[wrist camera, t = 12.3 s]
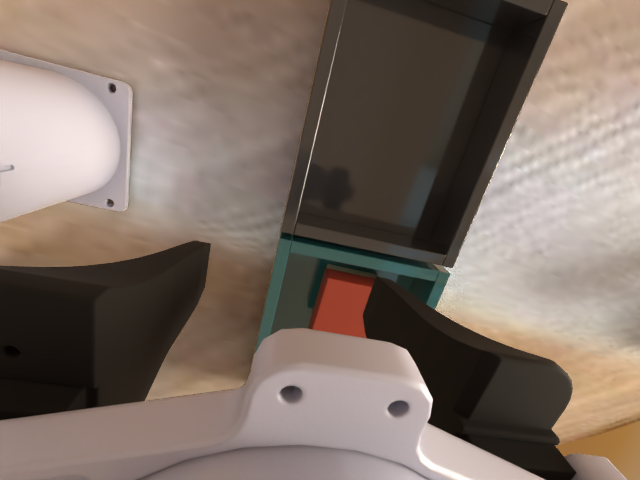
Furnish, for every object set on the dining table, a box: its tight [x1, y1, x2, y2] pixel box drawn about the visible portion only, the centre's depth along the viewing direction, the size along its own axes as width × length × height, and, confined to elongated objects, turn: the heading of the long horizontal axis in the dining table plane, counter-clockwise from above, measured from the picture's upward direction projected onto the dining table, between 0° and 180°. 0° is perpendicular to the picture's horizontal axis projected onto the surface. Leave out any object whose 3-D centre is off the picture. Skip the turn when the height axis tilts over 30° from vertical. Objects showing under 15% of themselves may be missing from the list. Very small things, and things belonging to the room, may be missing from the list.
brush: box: [308, 264, 379, 338], centre depth 23 cm, size 5×11×3 cm, turn 165°
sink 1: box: [248, 223, 450, 377], centre depth 24 cm, size 12×15×3 cm
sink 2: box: [281, 0, 568, 268], centre depth 18 cm, size 12×15×3 cm
